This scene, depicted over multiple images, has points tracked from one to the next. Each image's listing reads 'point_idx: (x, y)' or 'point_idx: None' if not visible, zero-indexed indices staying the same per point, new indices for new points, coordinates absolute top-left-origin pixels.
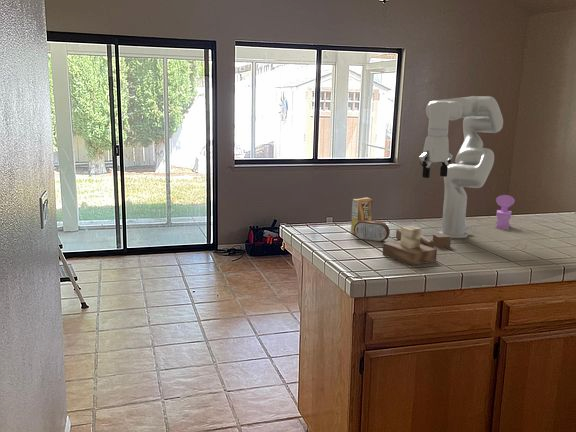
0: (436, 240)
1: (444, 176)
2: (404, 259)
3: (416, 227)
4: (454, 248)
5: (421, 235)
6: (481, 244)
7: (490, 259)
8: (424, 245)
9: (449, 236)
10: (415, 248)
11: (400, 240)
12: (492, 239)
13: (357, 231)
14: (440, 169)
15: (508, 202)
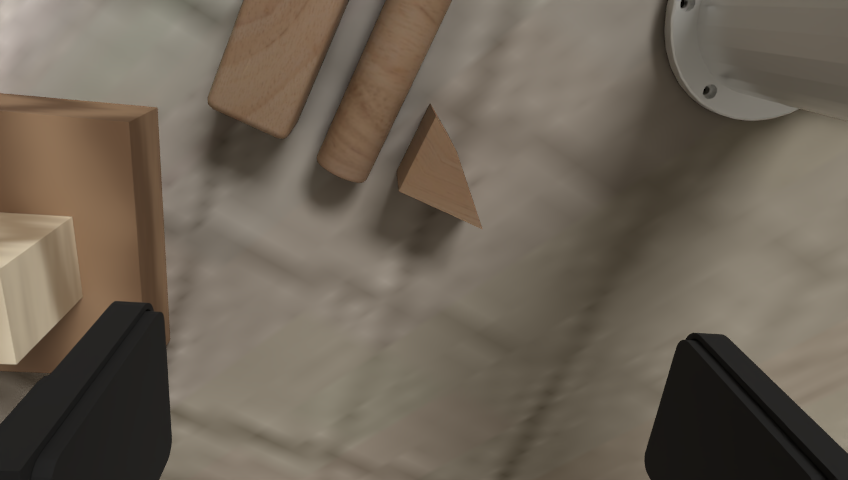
0: (408, 162)
1: (656, 433)
2: None
3: (3, 326)
4: (468, 236)
5: (405, 25)
6: (677, 262)
7: (439, 445)
8: (136, 290)
9: (476, 222)
10: None
11: (62, 118)
12: (841, 227)
13: None
14: (758, 428)
15: None
